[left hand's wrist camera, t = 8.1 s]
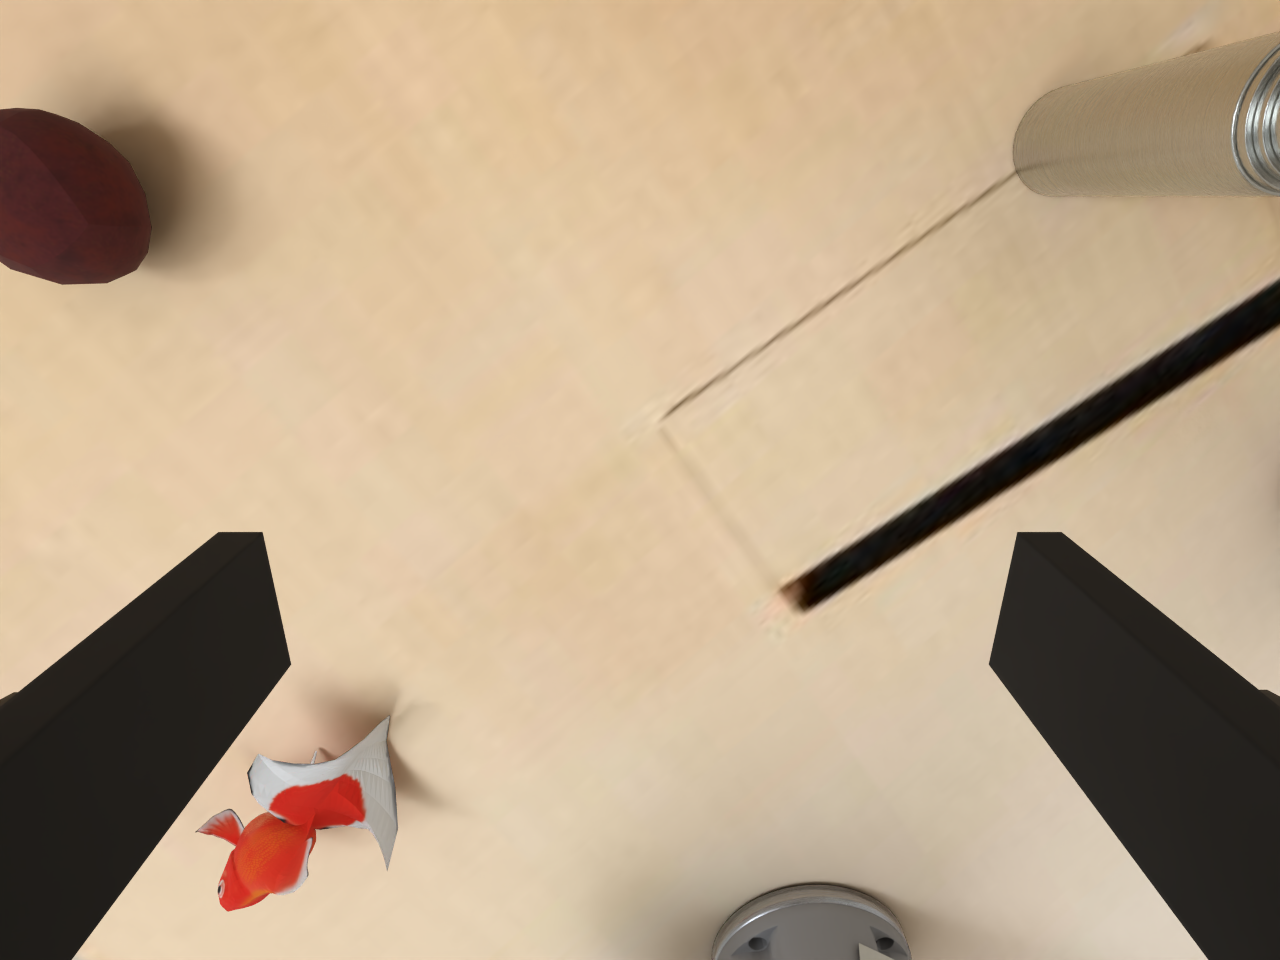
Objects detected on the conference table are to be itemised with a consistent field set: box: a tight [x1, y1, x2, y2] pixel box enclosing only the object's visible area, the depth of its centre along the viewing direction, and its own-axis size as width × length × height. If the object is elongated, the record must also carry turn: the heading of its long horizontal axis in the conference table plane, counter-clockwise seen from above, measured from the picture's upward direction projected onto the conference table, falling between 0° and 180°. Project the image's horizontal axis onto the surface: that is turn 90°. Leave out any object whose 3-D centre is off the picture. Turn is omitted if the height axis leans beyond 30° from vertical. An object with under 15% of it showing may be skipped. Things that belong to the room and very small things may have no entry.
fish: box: [196, 715, 398, 911], centre depth 46 cm, size 11×16×10 cm
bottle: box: [1013, 32, 1280, 197], centre depth 27 cm, size 5×5×19 cm
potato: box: [0, 108, 151, 284], centre depth 33 cm, size 7×8×7 cm
